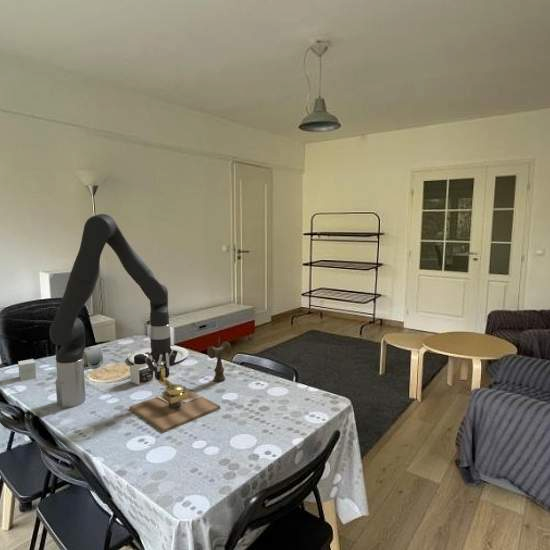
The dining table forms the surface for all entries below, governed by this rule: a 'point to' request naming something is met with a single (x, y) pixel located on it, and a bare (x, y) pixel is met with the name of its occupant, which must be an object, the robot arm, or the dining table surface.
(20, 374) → the product box
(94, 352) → the ceramic mug
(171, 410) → the post base
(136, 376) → the medicine bottle
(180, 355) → the plated food
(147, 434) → the dining table surface
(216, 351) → the kendama
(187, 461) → the dining table surface
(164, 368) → the gold piece
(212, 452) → the dining table surface
